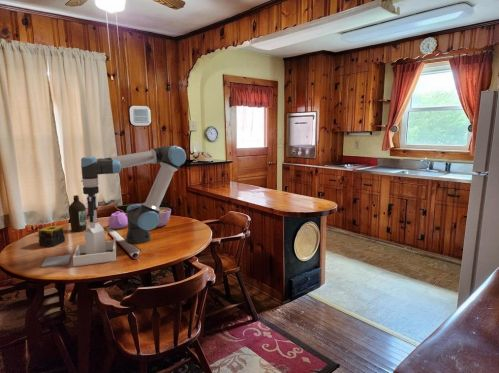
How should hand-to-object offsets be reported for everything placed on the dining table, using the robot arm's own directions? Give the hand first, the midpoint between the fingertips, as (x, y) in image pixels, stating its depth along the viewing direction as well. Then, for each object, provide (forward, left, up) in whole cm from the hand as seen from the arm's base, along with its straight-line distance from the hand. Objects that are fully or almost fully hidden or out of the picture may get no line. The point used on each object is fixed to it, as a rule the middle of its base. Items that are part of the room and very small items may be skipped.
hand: (93, 224), depth 173 cm
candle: (+27, -34, -19) cm, 47 cm away
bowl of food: (-38, -51, -19) cm, 67 cm away
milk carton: (0, 0, -19) cm, 19 cm away
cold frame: (0, 0, -18) cm, 18 cm away
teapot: (-11, -56, -19) cm, 60 cm away
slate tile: (+19, 0, -18) cm, 26 cm away
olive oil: (+15, -59, -19) cm, 64 cm away
